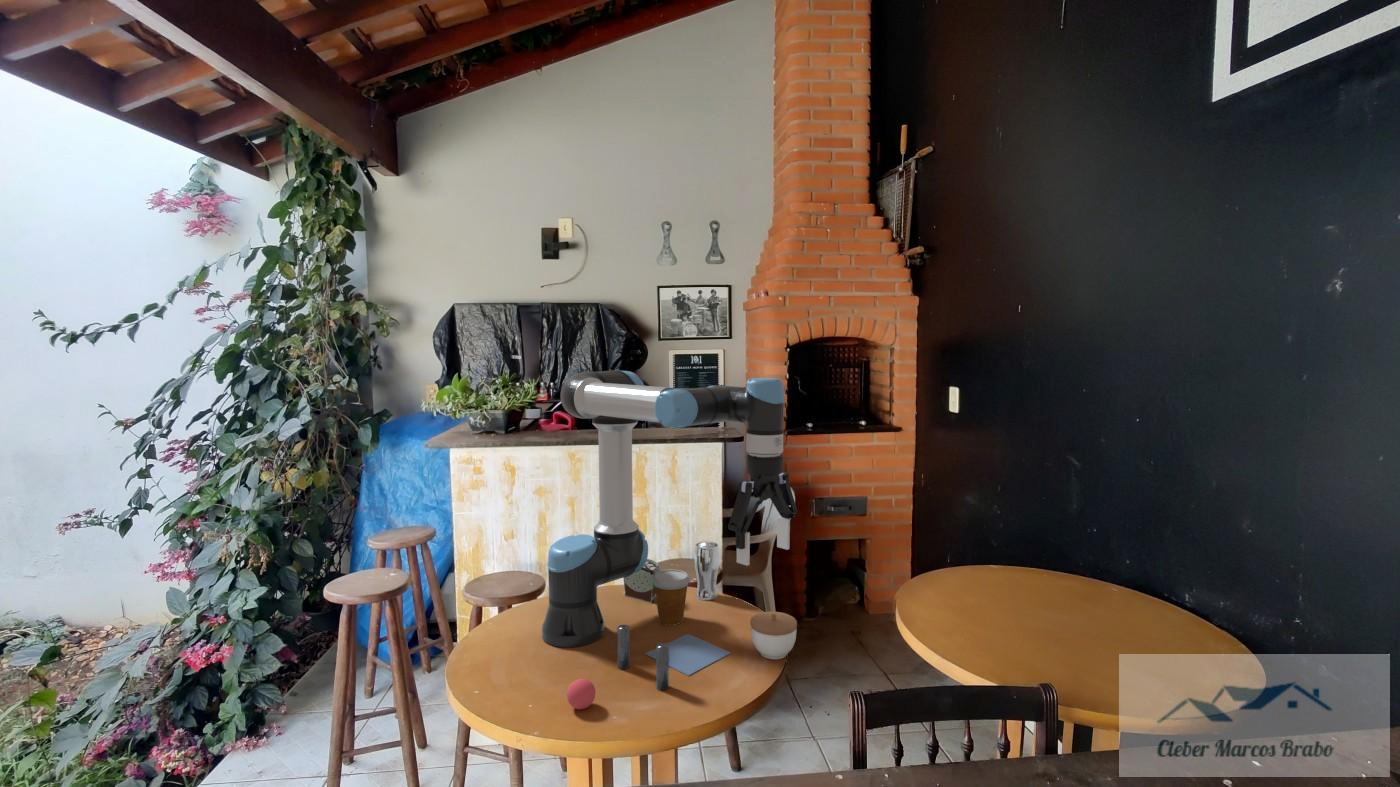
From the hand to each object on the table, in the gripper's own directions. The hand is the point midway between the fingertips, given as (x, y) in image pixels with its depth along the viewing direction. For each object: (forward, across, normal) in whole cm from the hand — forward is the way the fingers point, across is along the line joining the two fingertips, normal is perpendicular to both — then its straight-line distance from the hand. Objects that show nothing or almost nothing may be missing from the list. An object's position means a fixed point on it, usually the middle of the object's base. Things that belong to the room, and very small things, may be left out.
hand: (763, 555), depth 131 cm
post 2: (+28, -15, +15) cm, 35 cm away
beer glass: (+28, +27, +41) cm, 57 cm away
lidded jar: (+28, +13, +7) cm, 32 cm away
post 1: (+28, -15, +27) cm, 42 cm away
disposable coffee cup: (+28, +9, +37) cm, 47 cm away
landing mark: (+28, -1, +21) cm, 35 cm away
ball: (+25, -31, +21) cm, 45 cm away
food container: (+28, +15, +54) cm, 63 cm away
